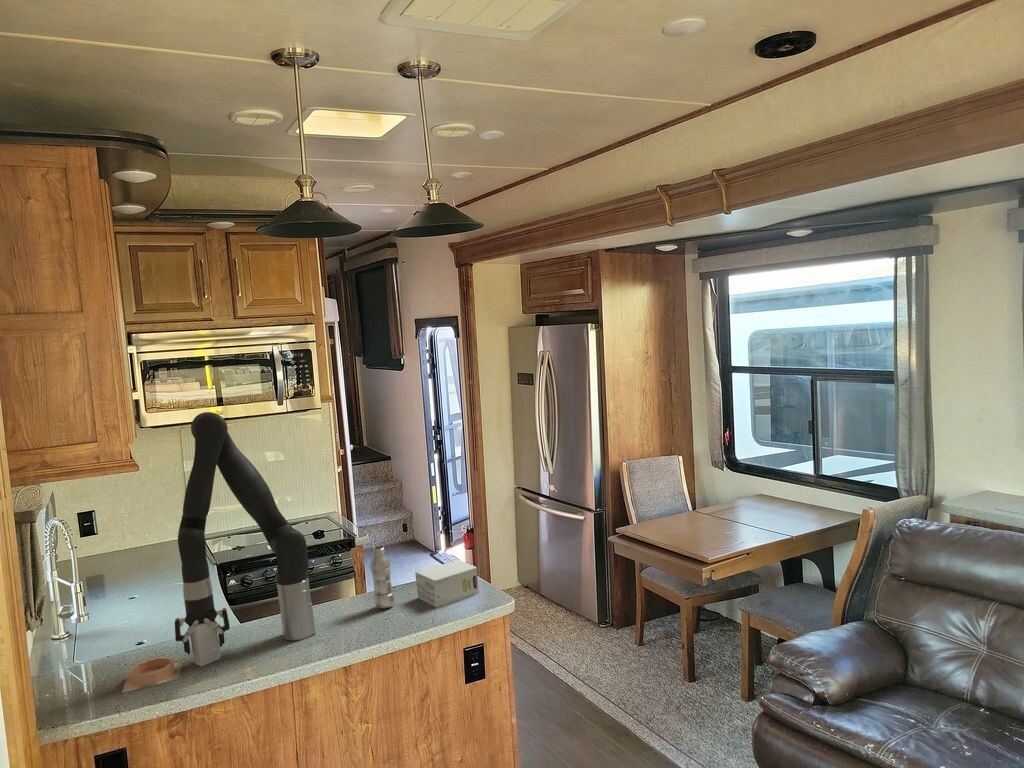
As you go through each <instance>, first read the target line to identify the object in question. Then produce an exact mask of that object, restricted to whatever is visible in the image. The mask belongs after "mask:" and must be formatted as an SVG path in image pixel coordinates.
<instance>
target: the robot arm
mask: <svg viewBox="0 0 1024 768" xmlns="http://www.w3.org/2000/svg"><path fill="white" fill-rule="evenodd" d="M228 428H229V427H228V423H227V421H226V420H225V418H223V416H221V415H220V414H217V413H215V412H212V411H211V412H210V411H206V412H202V413H199V414H197V415H195V417H194V418H193V420H192V421H191V425H190V432H191V435H192V437H193V438H194V456H193V457H194V458H193V463H192V466H191V470H190V475H189V478H188V481H187V484H186V488H185V493H184V497H183V506H182V515H181V520H180V524H179V528H178V531H177V532H178V533H177V546H178V552H179V557H180V562H181V575H182V577H181V578H182V592H183V594H182V596H183V601H184V608H185V617H183V618H179V617H176V618H175V620H174V635H175V641H176V642H182V643H183V651H184V653H185V654H187V655H190V654H191V644H190V638H191V636H190V635H191V634H192V632H193V626H196V625H198V624H200V623H206V624H208V625H209V626H210V627H211V628H213V629H214V630H216V631H217V635H218V642H219V648H221V647H223V645H224V644H225V632H227V631H229V630H230V627H231V626H230V621H229V620H230V619H229V616H228V610H227V608H226V607H223V608H221V609H219V610H216V608H215V602H214V594H213V585H212V580H211V576H210V575H211V574H210V569H209V563H208V559H207V545H206V537H205V534H206V533H205V532H206V525H207V524H206V523H207V516H208V515H209V512H210V508H211V501H212V496H213V490H214V483H215V482H214V481H215V474H216V470H217V468H218V470H219V472H220V474H221V476H222V477H223V479H224V481H225V483H226V484H227V486H228V487H229V490H230V491H231V492H232V494H233V495H234V496H235V498H236V500H237V501H238V502H239V504H240V505H241V506H242V508H243V509H244V511H245V512H247V514H248V515H249V516H250V517H251V519H253V520H254V521H255V523H256V524H257V525H258V527H259V529H260V531H261V532H262V534H263V536H264V537H265V540H266V542H267V543H268V545H269V547H270V550H271V552H272V553H274V554H275V557H276V566H277V572H276V574H275V578H276V580H275V581H276V587H277V588H276V589H277V595H278V603H279V610H280V611H279V612H280V618H281V619H280V620H281V627H282V636H283V639H284V640H285V639H286V641H289V640H290V641H291V642H292V640H293V641H300V640H304V639H306V638H309V637H310V636H313V635H317V634H316V625H315V618H314V617H315V616H314V609H313V603H312V599H311V590H310V581H309V573H308V572H309V567H310V566H309V556H308V546H307V545H308V544H307V541H306V537H305V535H304V534H303V533H302V532H300V531H299V530H297V529H296V528H294V527H293V526H292V525H291V524H290V522H289V521H288V520H287V519H286V518H285V517H284V515H283V514H282V512H281V511H280V510H279V508H278V506H277V504H276V501H275V498H274V496H273V493H272V492H271V489H270V487H269V486H268V483H267V482H266V481H265V479H264V478H263V476H262V474H260V472H259V471H258V469H257V468H256V467H255V465H254V464H253V463H252V462H251V461H250V460H249V459H248V458H247V457H246V456H245V455H244V454H243V452H242V451H241V450H240V449H239V448H238V447H237V445H236V443H235V441H233V438H232V437H231V435H230V432H229V431H228ZM217 616H219V618H221V619H222V620H223V624H224V625H220V624H219V623H218V622H217V621H216V618H217ZM214 620H215V621H216V624H215V623H213V622H214ZM184 623H185V624H186V625H188V628H187V630H186V631H185V633H184V634H182V633H181V628H182V627H183V626H184V625H183V624H184ZM189 626H190V629H189Z"/></svg>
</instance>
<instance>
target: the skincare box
mask: <svg viewBox="0 0 1024 768" xmlns="http://www.w3.org/2000/svg"><path fill="white" fill-rule="evenodd" d="M216 622H217V621H216V619H215V620H214V622H213V623H215V624H216ZM188 628H189V629H190V626H189V625H188ZM190 642H191V648H192V655H193V663H194V665H197V666H199V667H203V666H206V665H208V664H211V663H213V662H215V661H217V660H220V659H221V658H222V657H221V651H220V644H219V636H218V632H217V631H216V630H214V629H213V628H211V627H210V626H209V625H208V624H206V623H200V624H198V625H196V626H193V632H192V634H191V635H190Z"/></svg>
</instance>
